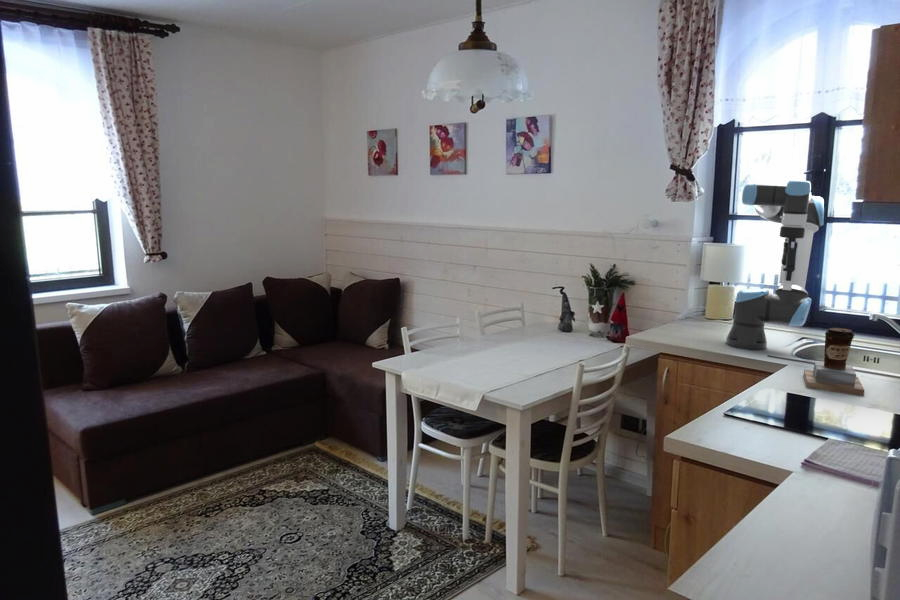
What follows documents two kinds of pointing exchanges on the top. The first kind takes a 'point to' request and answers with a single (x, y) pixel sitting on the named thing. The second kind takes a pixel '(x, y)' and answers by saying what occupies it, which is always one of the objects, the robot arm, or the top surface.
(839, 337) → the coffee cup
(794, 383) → the top surface
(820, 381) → the stepped plinth
